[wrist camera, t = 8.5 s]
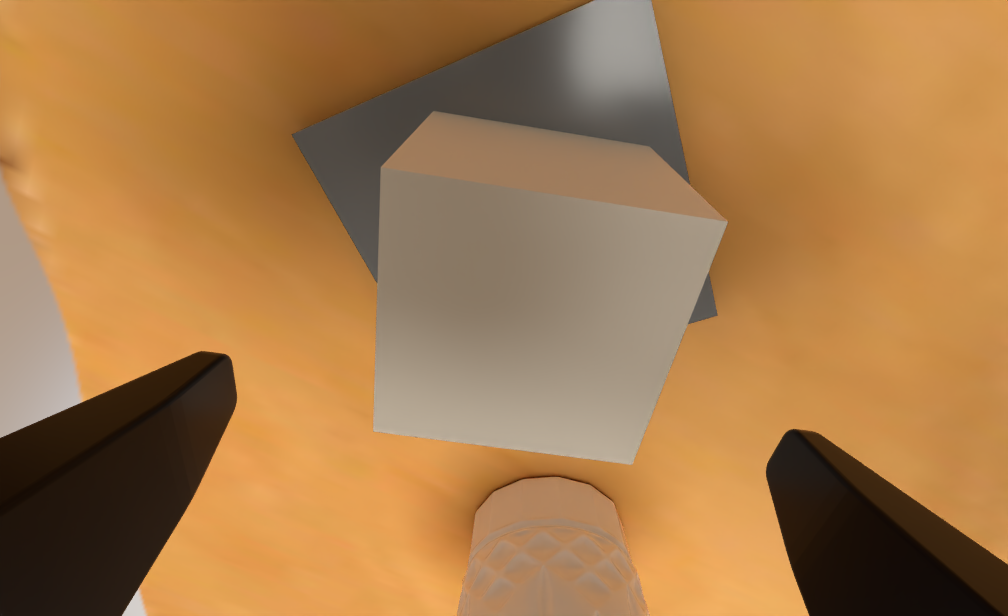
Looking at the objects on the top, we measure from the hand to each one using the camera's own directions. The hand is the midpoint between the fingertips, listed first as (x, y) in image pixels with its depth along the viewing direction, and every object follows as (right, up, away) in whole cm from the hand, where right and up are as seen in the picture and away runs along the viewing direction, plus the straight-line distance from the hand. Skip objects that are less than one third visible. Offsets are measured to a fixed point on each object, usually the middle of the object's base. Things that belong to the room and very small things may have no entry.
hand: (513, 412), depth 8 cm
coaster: (0, +4, +8) cm, 9 cm away
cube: (0, +4, +7) cm, 8 cm away
